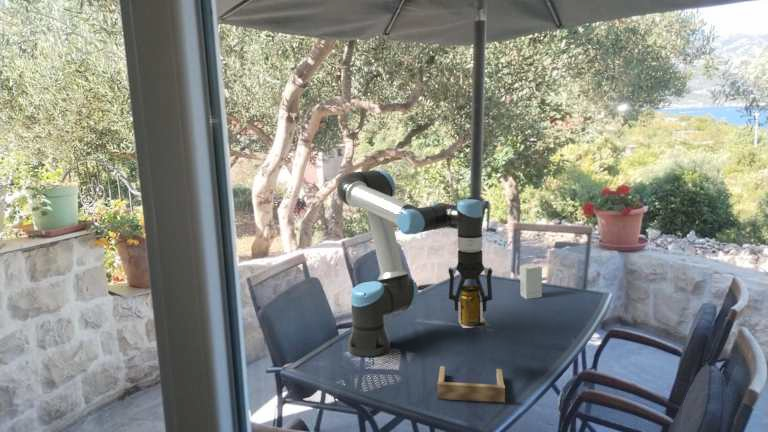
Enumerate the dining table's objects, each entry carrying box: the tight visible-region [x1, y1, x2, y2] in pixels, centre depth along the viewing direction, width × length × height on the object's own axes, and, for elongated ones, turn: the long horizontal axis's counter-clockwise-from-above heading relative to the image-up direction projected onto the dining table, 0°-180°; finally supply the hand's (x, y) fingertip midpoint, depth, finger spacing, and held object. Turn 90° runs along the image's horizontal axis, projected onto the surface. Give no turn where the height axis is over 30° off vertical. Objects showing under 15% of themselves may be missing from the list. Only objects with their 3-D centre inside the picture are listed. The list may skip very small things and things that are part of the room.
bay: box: [436, 365, 506, 403], centre depth 149 cm, size 19×14×4 cm
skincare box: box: [519, 263, 543, 300], centre depth 229 cm, size 8×6×15 cm
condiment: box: [458, 284, 490, 329], centre depth 156 cm, size 7×8×12 cm
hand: (470, 320), depth 157 cm, fingers closed on condiment, 6 cm apart
